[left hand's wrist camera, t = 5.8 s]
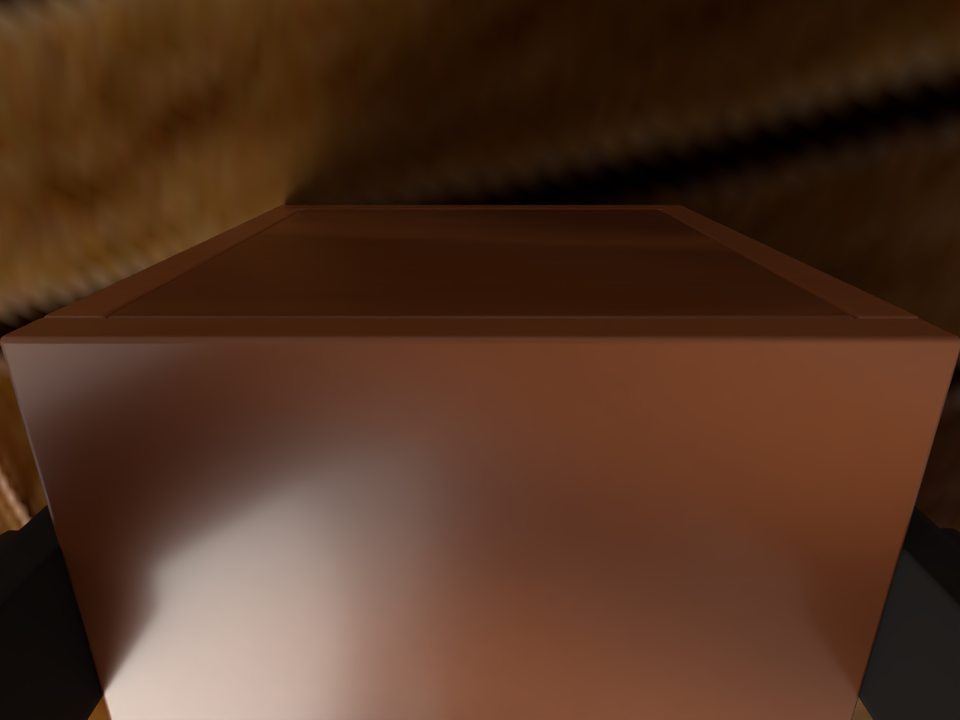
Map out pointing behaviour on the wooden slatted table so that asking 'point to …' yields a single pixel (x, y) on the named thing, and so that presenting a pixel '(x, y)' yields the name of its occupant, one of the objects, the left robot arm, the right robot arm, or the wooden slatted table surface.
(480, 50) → the wooden slatted table surface
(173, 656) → the cabinet
